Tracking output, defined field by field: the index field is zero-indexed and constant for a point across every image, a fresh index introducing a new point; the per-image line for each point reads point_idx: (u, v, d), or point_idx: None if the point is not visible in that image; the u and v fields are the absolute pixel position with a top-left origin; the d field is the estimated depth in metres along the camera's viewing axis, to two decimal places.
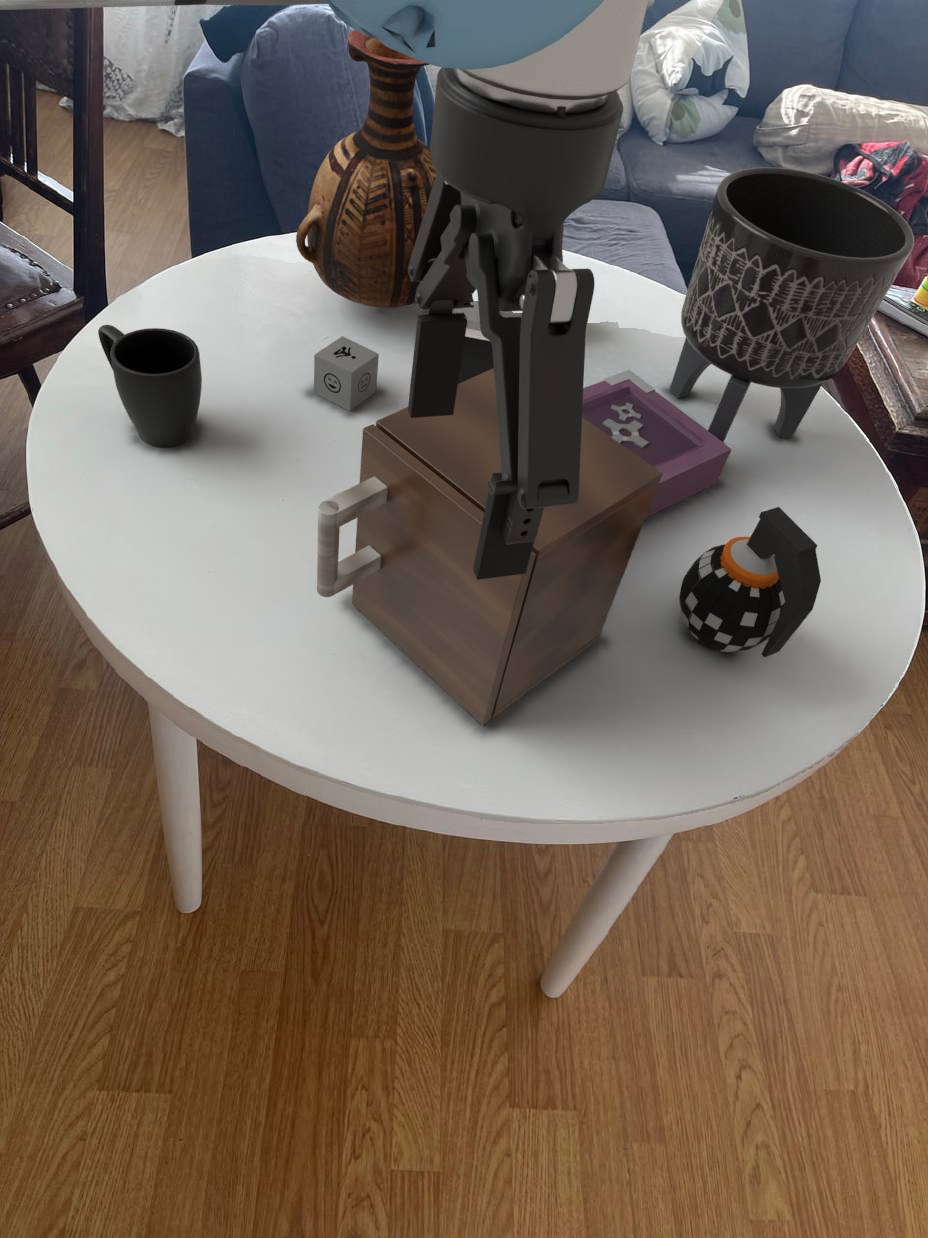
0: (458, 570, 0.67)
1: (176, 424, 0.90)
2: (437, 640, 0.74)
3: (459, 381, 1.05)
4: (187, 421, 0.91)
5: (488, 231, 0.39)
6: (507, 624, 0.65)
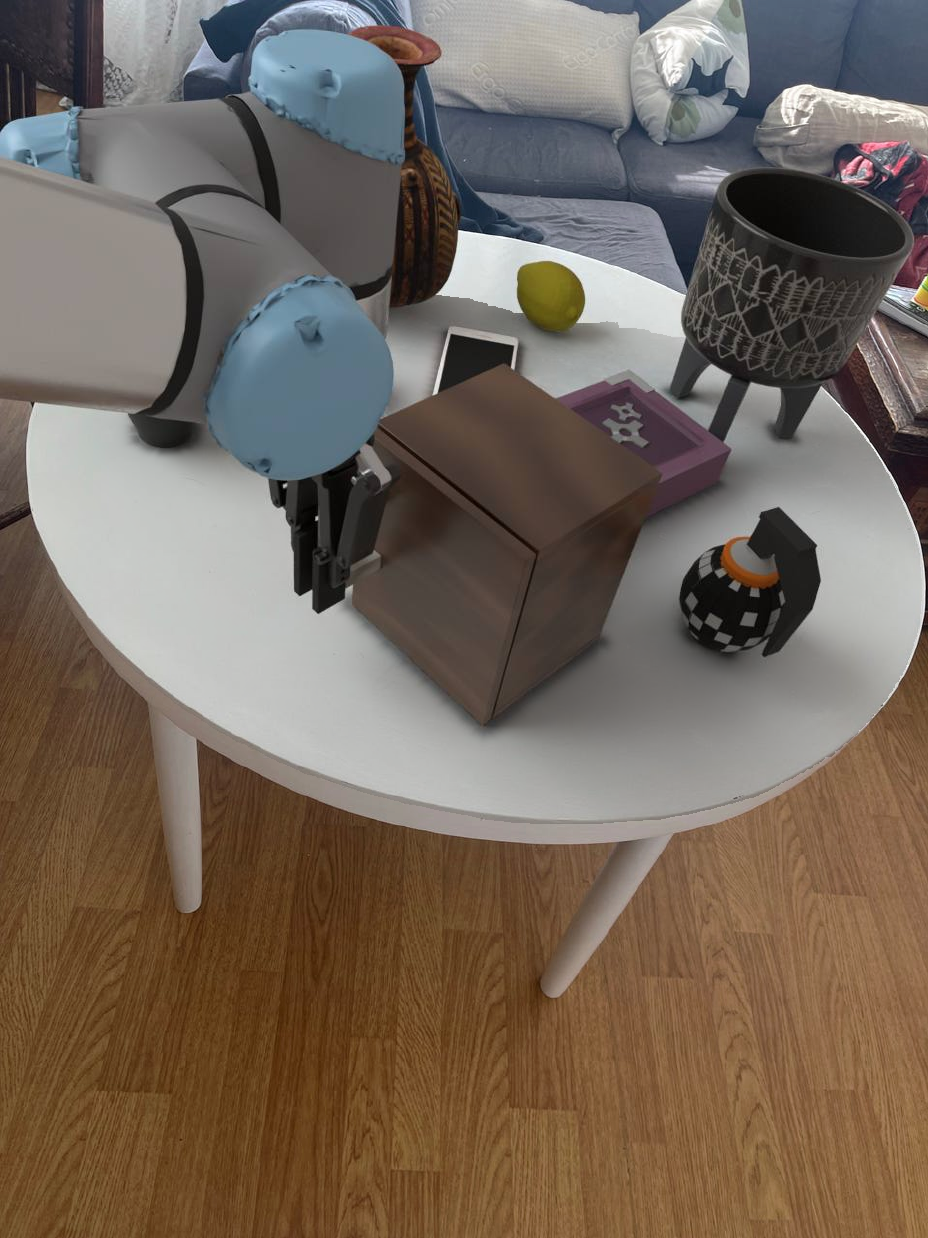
0: (458, 570, 0.67)
1: (176, 424, 0.90)
2: (437, 640, 0.74)
3: (459, 381, 1.05)
4: (187, 421, 0.91)
5: None
6: (507, 624, 0.65)
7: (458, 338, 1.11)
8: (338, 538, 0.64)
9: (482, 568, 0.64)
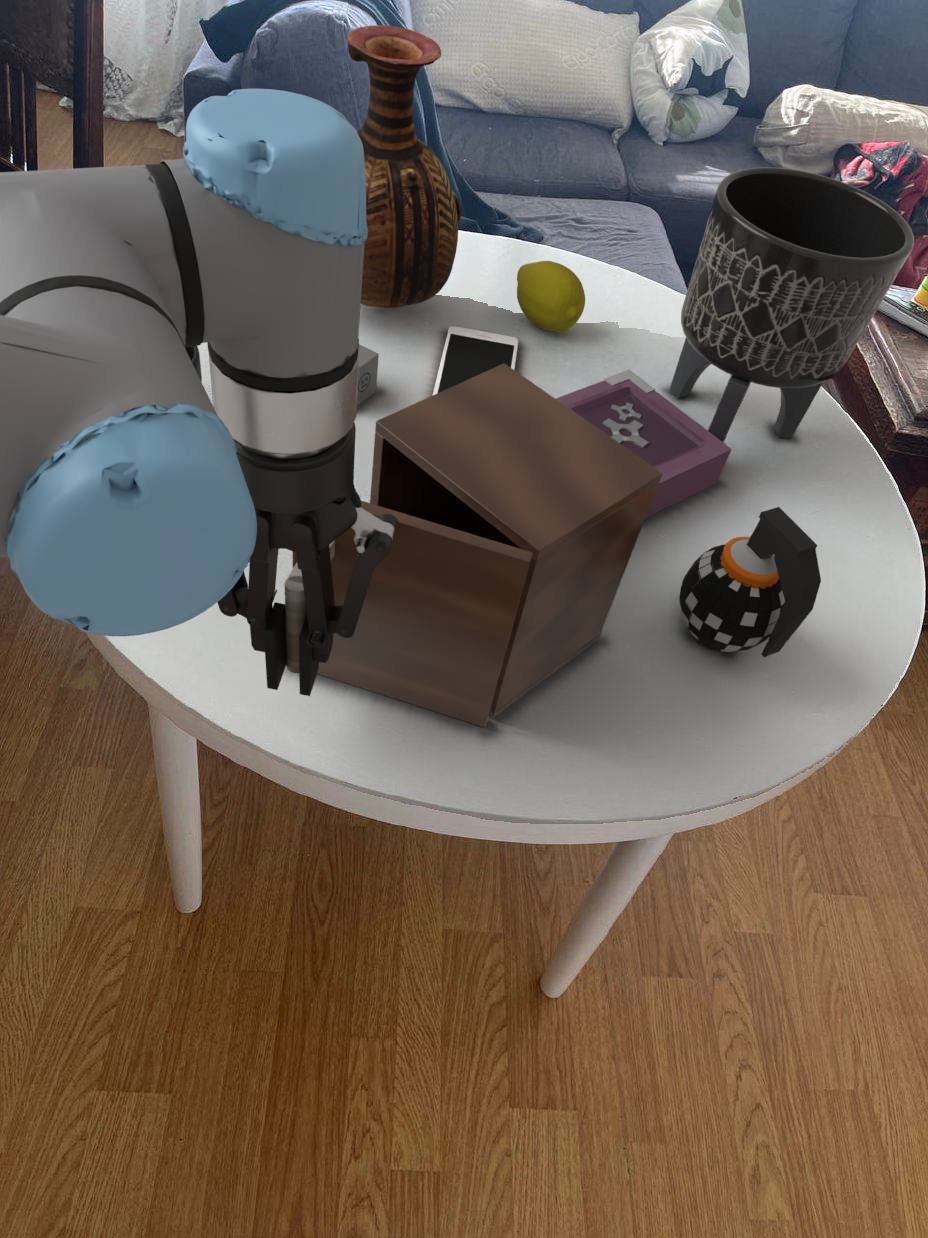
0: (441, 594, 0.65)
1: None
2: (418, 667, 0.72)
3: (459, 381, 1.05)
4: None
5: (298, 515, 0.52)
6: (509, 626, 0.65)
7: (458, 338, 1.11)
8: (328, 612, 0.60)
9: (472, 584, 0.63)
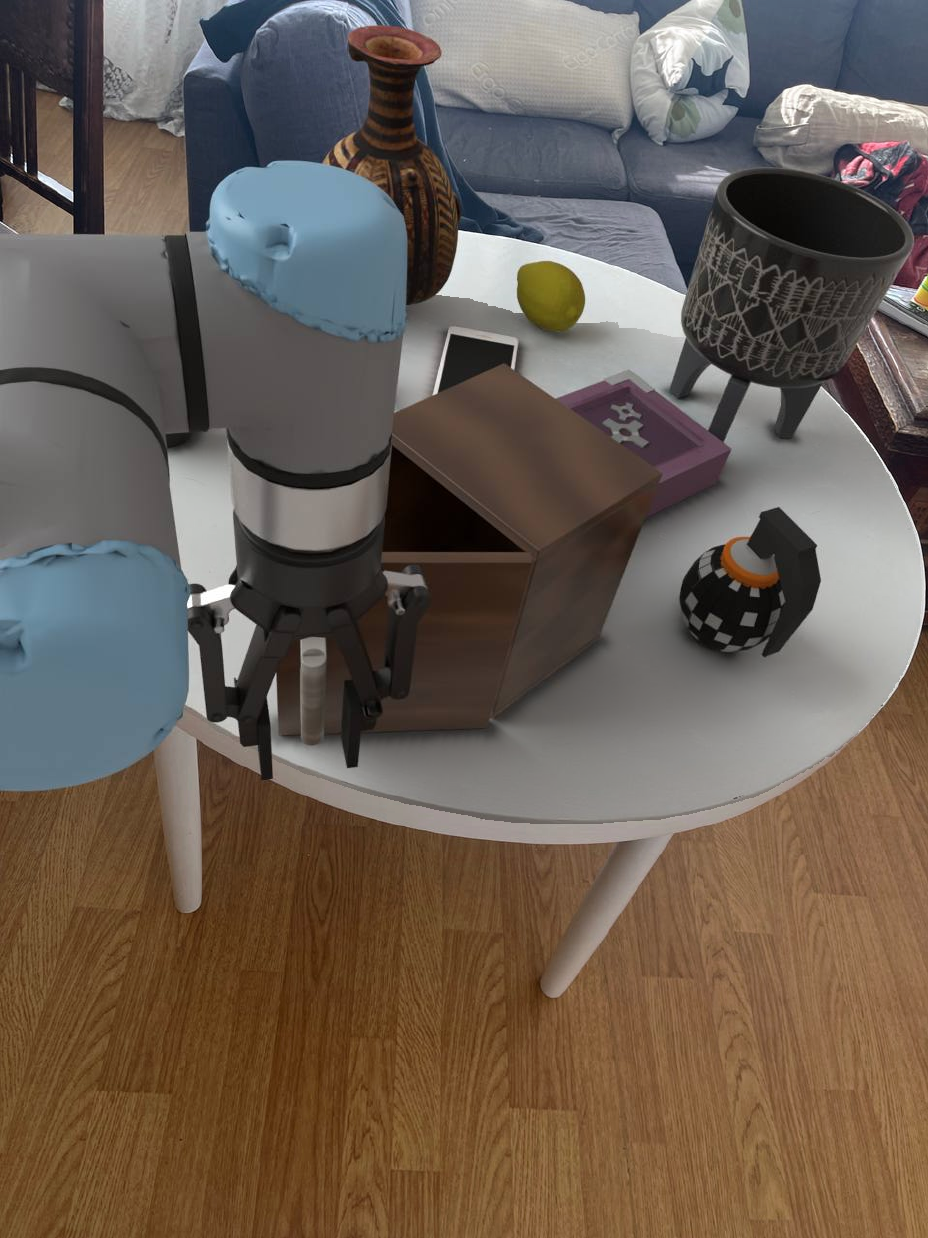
0: (441, 618, 0.63)
1: None
2: (417, 694, 0.70)
3: (459, 381, 1.05)
4: None
5: None
6: (512, 628, 0.65)
7: (458, 338, 1.11)
8: (374, 679, 0.56)
9: (474, 600, 0.62)
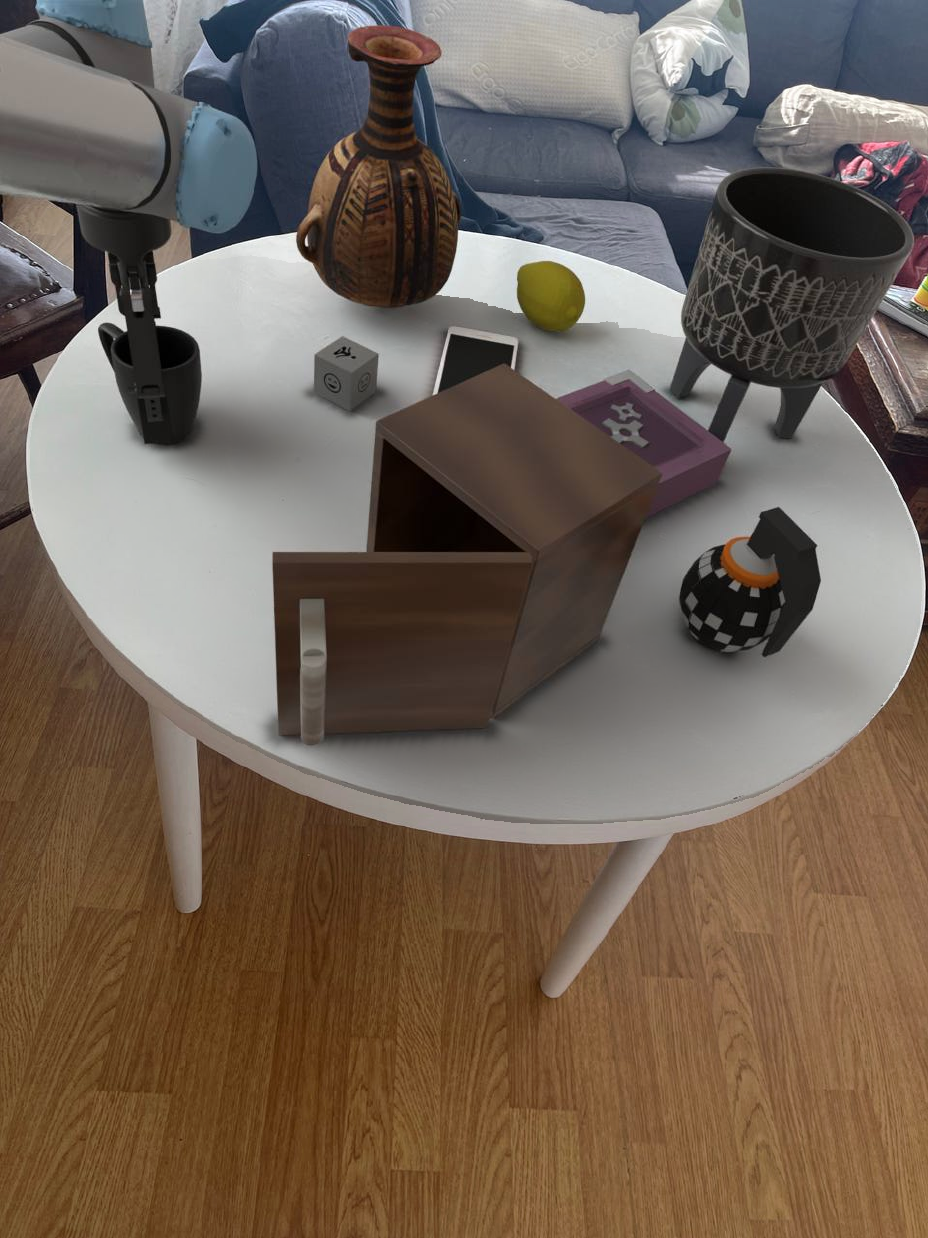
0: (441, 618, 0.63)
1: (176, 420, 0.90)
2: (417, 694, 0.70)
3: (459, 381, 1.05)
4: (187, 418, 0.91)
5: (117, 262, 0.80)
6: (512, 628, 0.65)
7: (458, 338, 1.11)
8: None
9: (474, 600, 0.62)
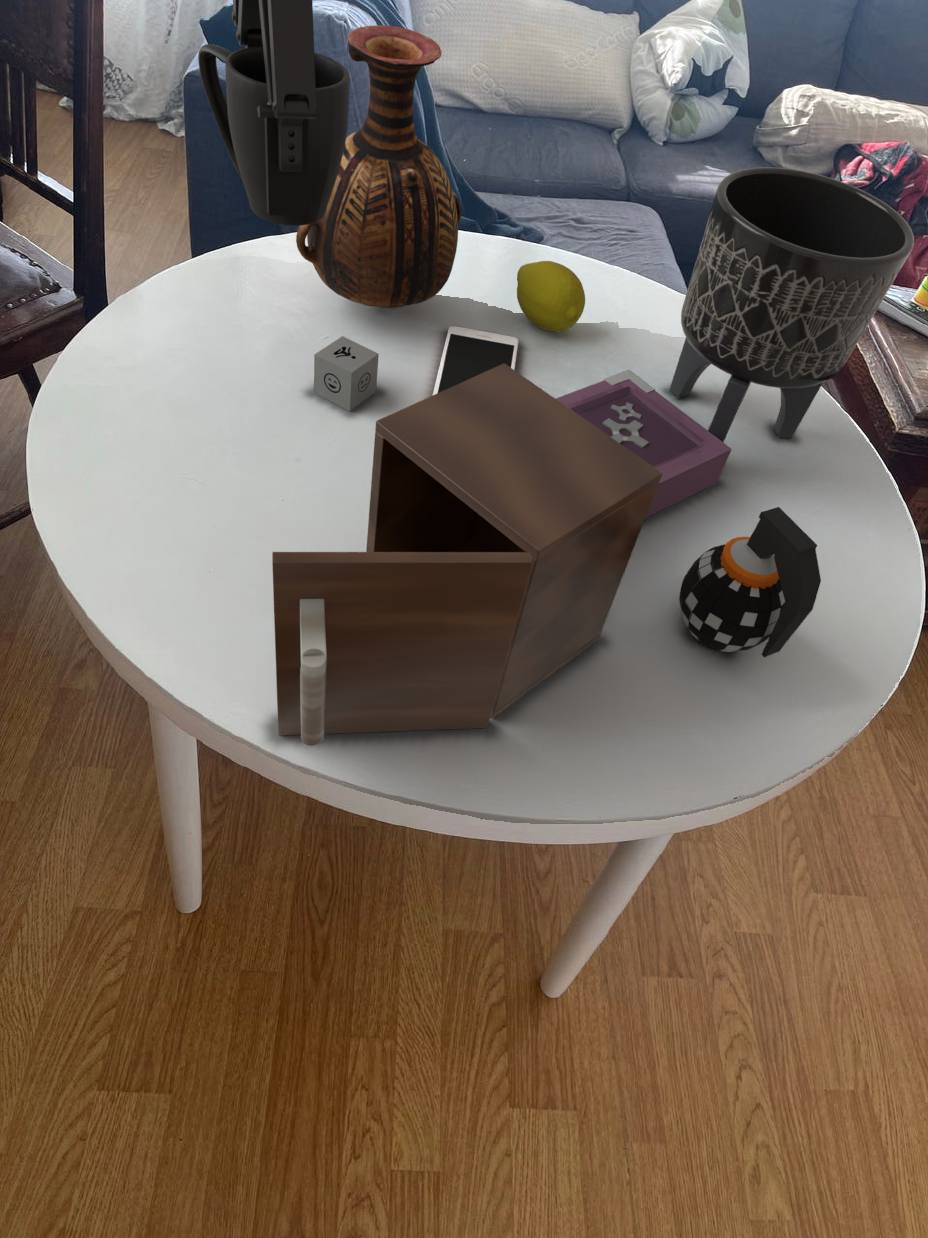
0: (441, 618, 0.63)
1: (313, 184, 0.63)
2: (417, 694, 0.70)
3: (459, 381, 1.05)
4: (326, 183, 0.64)
5: None
6: (512, 628, 0.65)
7: (458, 338, 1.11)
8: None
9: (474, 600, 0.62)
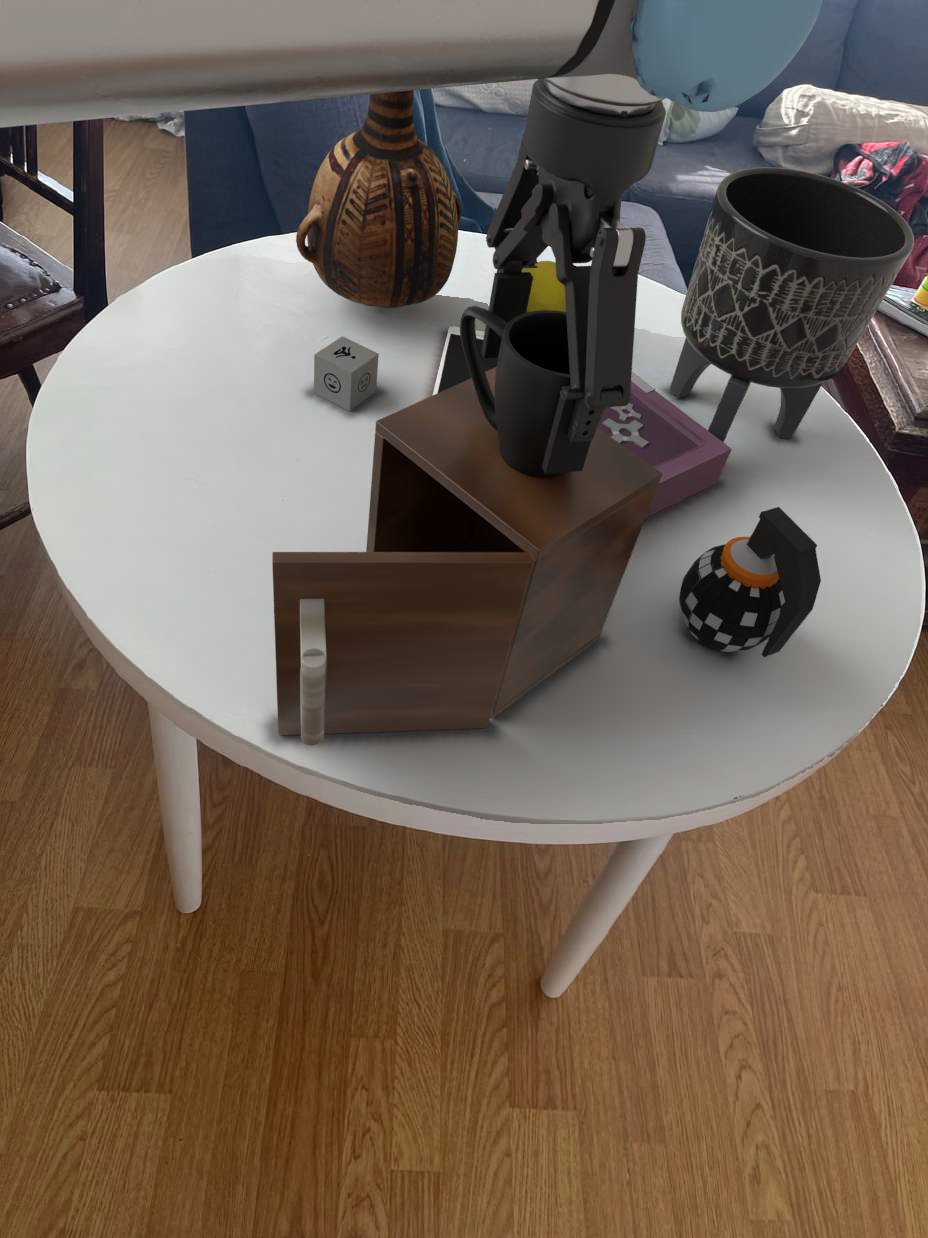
0: (441, 618, 0.63)
1: None
2: (417, 694, 0.70)
3: (459, 381, 1.05)
4: None
5: (564, 202, 0.53)
6: (512, 628, 0.65)
7: (458, 338, 1.11)
8: None
9: (474, 600, 0.62)
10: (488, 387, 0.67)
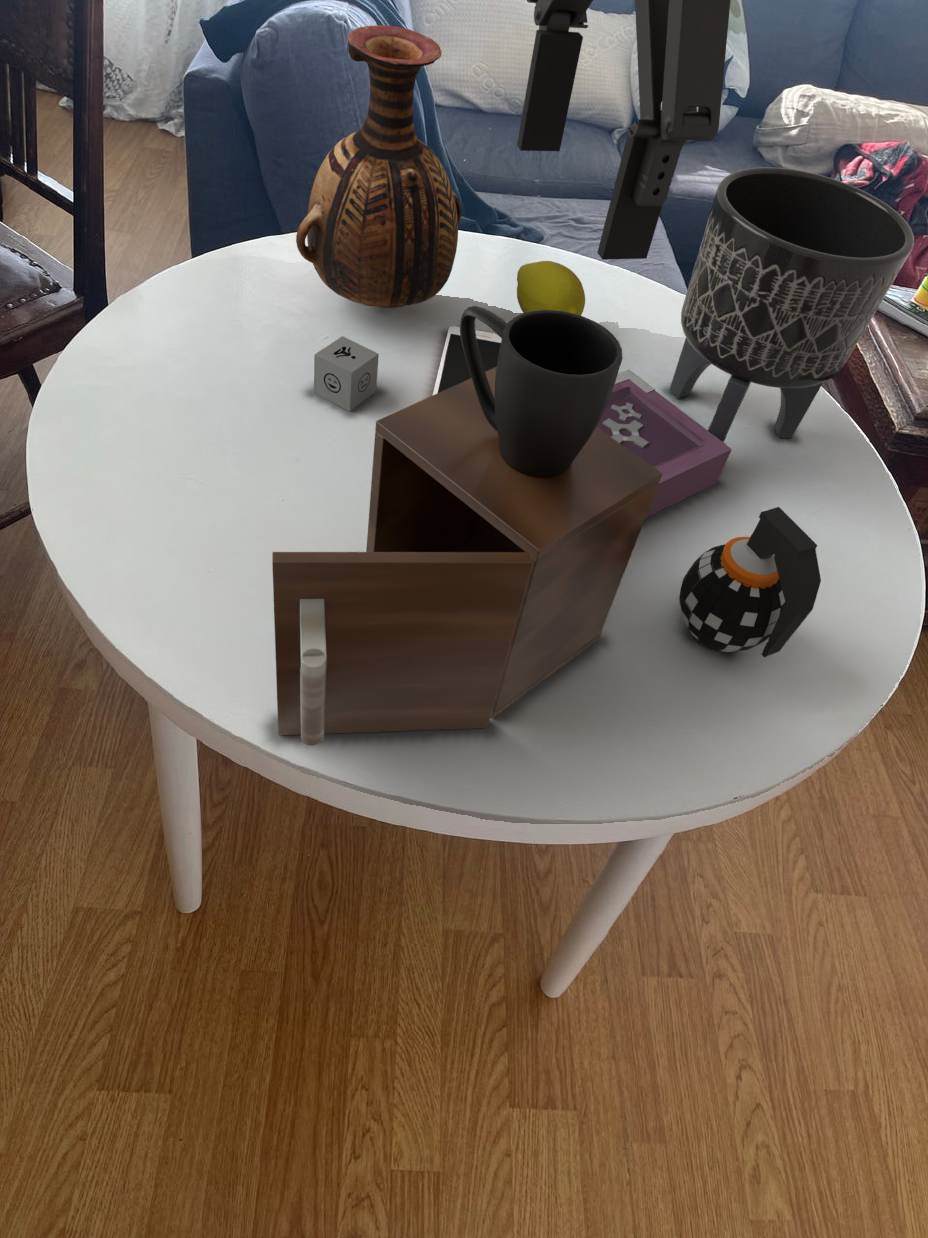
0: (441, 618, 0.63)
1: (576, 446, 0.63)
2: (417, 694, 0.70)
3: (459, 381, 1.05)
4: (586, 441, 0.64)
5: None
6: (512, 628, 0.65)
7: (458, 338, 1.11)
8: None
9: (474, 600, 0.62)
10: (488, 387, 0.67)
